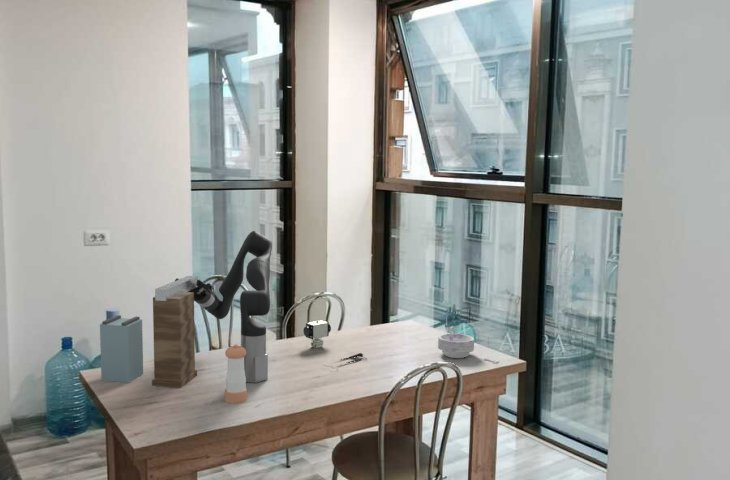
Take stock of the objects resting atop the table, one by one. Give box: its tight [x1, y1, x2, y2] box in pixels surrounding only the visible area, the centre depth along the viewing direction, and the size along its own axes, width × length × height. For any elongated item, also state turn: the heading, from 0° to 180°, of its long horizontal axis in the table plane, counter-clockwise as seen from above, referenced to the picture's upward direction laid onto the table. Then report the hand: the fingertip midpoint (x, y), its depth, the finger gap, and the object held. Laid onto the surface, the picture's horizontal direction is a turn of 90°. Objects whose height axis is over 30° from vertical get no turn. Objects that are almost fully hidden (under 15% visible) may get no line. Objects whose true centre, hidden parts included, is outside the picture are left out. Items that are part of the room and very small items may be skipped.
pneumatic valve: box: [302, 319, 332, 349], centre depth 289 cm, size 6×12×12 cm, turn 130°
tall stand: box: [151, 292, 198, 389], centre depth 241 cm, size 14×11×32 cm
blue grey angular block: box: [99, 314, 144, 384], centre depth 244 cm, size 10×11×22 cm
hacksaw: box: [340, 352, 368, 364], centre depth 268 cm, size 24×10×2 cm, turn 133°
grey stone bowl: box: [437, 333, 475, 359], centre depth 281 cm, size 15×15×8 cm
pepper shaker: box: [224, 344, 248, 404], centre depth 224 cm, size 7×7×19 cm
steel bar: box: [154, 275, 199, 301], centre depth 242 cm, size 26×4×4 cm, turn 170°
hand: (186, 281), depth 249 cm, fingers open, 8 cm apart
